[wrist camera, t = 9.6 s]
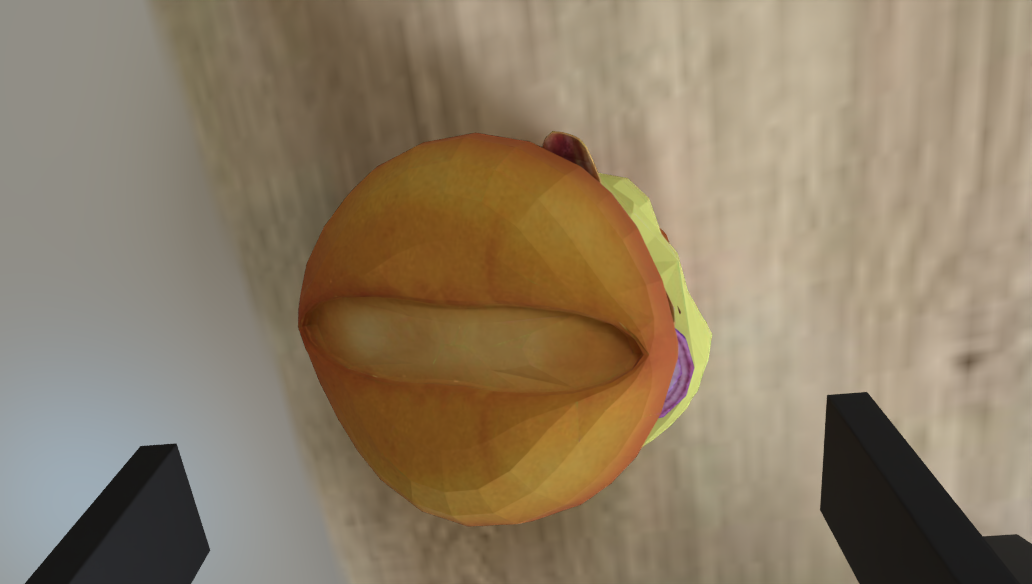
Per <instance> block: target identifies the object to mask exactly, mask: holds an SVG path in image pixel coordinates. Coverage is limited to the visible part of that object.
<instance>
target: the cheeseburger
mask: <svg viewBox="0 0 1032 584" xmlns="http://www.w3.org/2000/svg"><path fill="white" fill-rule="evenodd" d="M298 328H299V331H300V334H301V337H302V340H303V343H304V345H305V348H306V351H307V352H308V354H309V357H310V359H311V362H312V364H313V367H314V369H315V372H316V374H317V377H318V379H319V382H320V384H321V386H322V388H323V390H324V392H325V394H326V396H327V398H328V400H329V402H330V404H331V406H332V408H333V410H334V412H335V414H336V416H337V418H338V420H339V421H340V423H341V425H342V426H343V428H344V429H345V431H346V433H347V434H348V436H349V437H350V439H351V441H352V442H353V444H354V446H355V447H356V449H357V450H358V452H359V453H360V454H361V456H362V457H363V458H364V459H365V461H366V462H367V463H368V464H369V466H370V467H371V468H372V469H373V471H374V472H375V473H376V474H377V476H378V477H379V478H380V480H382V481H383V482H384V483H386V484H387V485H388V486H390V487H391V488H392V489H393V490H395V491H396V492H397V493H399V494H400V495H401V496H403V497H404V498H405V499H407V500H408V501H409V502H410V503H412V504H413V505H414V506H416V507H417V508H418V509H420V510H421V511H423V512H426V513H429V514H432V515H435V516H438V517H441V518H444V519H447V520H450V521H453V522H456V523H459V524H462V525H465V526H488V525H508V524H520V523H525V522H531V521H534V520H537V519H540V518H543V517H546V516H549V515H552V514H555V513H558V512H560V511H563V510H566V509H569V508H572V507H575V506H578V505H581V504H583V503H584V502H585V501H587V500H588V499H590V498H591V497H593V496H594V495H595V494H597V493H598V492H600V491H601V490H603V489H604V488H605V487H607V486H608V485H610V484H611V483H612V482H613V481H614V480H615V479H616V478H617V477H618V476H619V475H620V474H621V472H622V471H623V470H624V469H625V468H626V467H627V466H628V465H629V464H630V463H631V462H632V461H633V460H634V459H635V458H636V457H637V455H638V453H639V451H640V450H641V448H642V447H643V446H644V445H646V444H647V443H649V442H651V441H652V440H654V439H655V438H656V437H657V436H659V435H660V434H661V433H662V432H663V431H665V430H666V429H667V428H668V427H670V426H671V425H672V424H673V423H674V421H675V420H676V419H677V418H678V417H679V416H680V415H681V414H682V413H683V412H684V411H685V409H686V408H687V407H688V405H689V403H690V401H691V399H692V398H693V396H694V395H695V394H696V392H697V391H698V388H699V385H700V382H701V379H702V375H703V372H704V370H705V367H706V364H707V362H708V359H709V352H710V345H711V339H712V333H711V331H710V329H709V328H708V326H707V322H706V321H705V320H704V319H703V317H702V315H701V314H700V312H699V310H698V308H697V306H696V305H695V303H694V301H693V299H692V298H691V296H690V294H689V292H688V290H687V286H686V282H685V279H684V275H683V271H682V268H681V264H680V260H679V257H678V253H677V252H676V251H675V250H674V249H673V247H672V246H671V245H670V243H669V241H668V238H667V235H666V234H665V233H664V232H663V231H662V230H661V229H660V228H659V225H658V223H657V220H656V217H655V214H654V211H653V208H652V205H651V202H650V200H649V198H648V197H647V196H646V195H645V194H644V193H643V192H642V191H641V190H640V189H639V188H637V187H636V186H635V185H634V184H633V183H632V182H631V181H630V180H629V179H628V178H623V177H618V176H612V175H606V174H601V173H598V171H597V168H596V166H595V164H594V161H593V159H592V157H591V155H590V153H589V151H588V149H587V147H586V145H585V144H584V143H583V142H582V141H581V140H580V139H579V138H577V137H575V136H574V135H571V134H567V133H564V132H555V131H552V132H551V133H550V134H549V135H548V136H547V137H546V138H545V141H544V144H543V146H542V147H540V146H537V145H535V144H533V143H531V142H529V141H523V140H517V139H511V138H504V137H498V136H492V135H486V134H480V133H471V134H466V135H461V136H455V137H450V138H445V139H439V140H434V141H429V142H423V143H421V144H420V145H418V146H416V147H414V148H412V149H410V150H408V151H406V152H404V153H402V154H400V155H398V156H396V157H394V158H393V159H391V160H389V161H387V162H385V163H383V164H381V165H379V166H377V167H376V168H375V169H374V170H373V171H372V172H371V173H369V174H368V175H367V176H366V177H365V178H364V179H363V180H362V181H361V182H360V183H359V184H358V185H357V186H356V187H355V188H354V189H353V190H352V191H351V192H350V193H349V195H348V196H347V197H346V198H345V199H344V201H343V202H342V203H341V205H340V206H339V207H338V209H337V210H336V211H335V213H334V214H333V215H332V217H331V218H330V219H329V221H328V222H327V223H326V225H325V226H324V228H323V230H322V232H321V234H320V236H319V239H318V241H317V243H316V245H315V247H314V249H313V251H312V254H311V256H310V258H309V260H308V262H307V265H306V270H305V275H304V280H303V284H302V289H301V295H300V302H299V309H298Z"/></svg>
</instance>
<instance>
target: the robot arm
mask: <svg viewBox="0 0 1032 584" xmlns="http://www.w3.org/2000/svg"><path fill="white" fill-rule="evenodd" d="M820 511H821V512H822V514H823V516H824V518H825V520H826V522H827V524H828V526H829V527H830V529H831V531H832V533H833V535H834V537H835V539H836V541H837V542H838V544H839V546H840V548H841V550H842V552H843V554H844V556H845V557H846V559H847V561H848V563H849V565H850V567H851V569H852V571H853V572H854V574H855V576H856V578H857V580H858V582H859V584H1032V544H1031V543H1030V542H1028V541H1026V540H1025V539H1023V538H1022V537H1020V536H1019V535H1017V534H1015V535H999V536H983V537H982V535H981V534H980V533H979V532H978V530H977V529H976V528H975V527H974V525H973V524H972V523H971V522H970V520H969V519H968V518H967V517H966V515H965V514H964V513H963V511H962V510H961V509H960V508H959V506H958V505H957V504H956V503H955V501H954V500H953V499H952V498H951V496H950V495H949V494H948V493H947V491H946V490H945V489H944V488H943V486H942V485H941V484H940V483H939V481H938V480H937V479H936V478H935V476H934V475H933V474H932V473H931V471H930V470H929V469H928V468H927V466H926V465H925V464H924V463H923V461H922V460H921V459H920V458H919V456H918V455H917V454H916V453H915V451H914V450H913V449H912V448H911V446H910V445H909V444H908V443H907V441H906V440H905V439H904V438H903V436H902V435H901V434H900V433H899V431H898V430H897V429H896V428H895V426H894V425H893V424H892V423H891V421H890V420H889V419H888V418H887V416H886V415H885V414H884V413H883V411H882V410H881V409H880V408H879V406H878V405H877V404H876V403H875V401H874V400H873V399H872V398H871V396H870V395H869V394H868V393H867V392H862V393H849V394H835V395H827V405H826V422H825V439H824V455H823V472H822V489H821V506H820ZM209 551H210V548H209V545H208V542H207V539H206V536H205V533H204V529H203V526H202V523H201V520H200V517H199V514H198V510H197V507H196V504H195V501H194V498H193V494H192V491H191V488H190V485H189V481H188V479H187V475H186V472H185V469H184V466H183V462H182V459H181V456H180V453H179V450H178V447H177V444H164V445H150V446H140V448H139V449H138V450H137V451H136V452H135V453H134V455H133V456H132V457H131V458H130V459H129V461H128V462H127V463H126V464H125V465H124V466H123V468H122V469H121V470H120V471H119V472H118V474H117V475H116V476H115V477H114V478H113V480H112V481H111V482H110V483H109V484H108V485H107V487H106V488H105V489H104V490H103V491H102V493H101V494H100V495H99V496H98V497H97V498H96V500H95V501H94V502H93V503H92V504H91V506H90V507H89V508H88V509H87V511H86V512H85V513H84V514H83V515H82V516H81V517H80V519H79V520H78V521H77V522H76V523H75V525H74V526H73V527H72V528H71V529H70V530H69V532H68V533H67V534H66V535H65V536H64V538H63V539H62V540H61V541H60V543H59V544H58V545H57V546H56V547H55V548H54V549H53V551H52V552H51V553H50V554H49V555H48V557H47V558H46V559H45V560H44V561H43V563H42V564H41V565H40V566H39V567H38V569H37V570H36V571H35V572H34V573H33V574H32V576H31V577H30V578H29V579H28V580H27V582H26V583H25V584H191V583H192V581H193V579H194V578H195V576H196V574H197V572H198V570H199V569H200V567H201V565H202V563H203V562H204V560H205V558H206V556H207V555H208V553H209Z"/></svg>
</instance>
